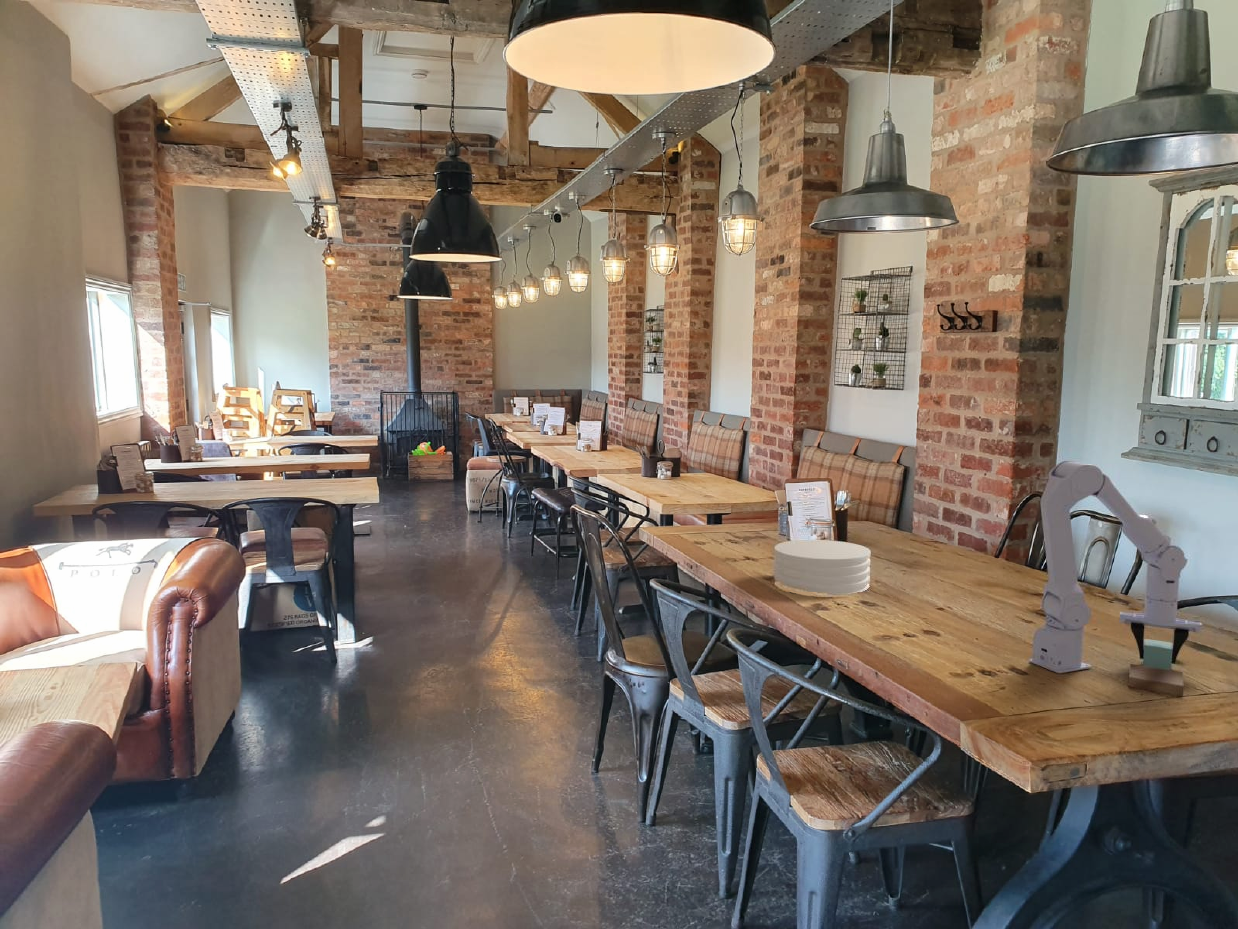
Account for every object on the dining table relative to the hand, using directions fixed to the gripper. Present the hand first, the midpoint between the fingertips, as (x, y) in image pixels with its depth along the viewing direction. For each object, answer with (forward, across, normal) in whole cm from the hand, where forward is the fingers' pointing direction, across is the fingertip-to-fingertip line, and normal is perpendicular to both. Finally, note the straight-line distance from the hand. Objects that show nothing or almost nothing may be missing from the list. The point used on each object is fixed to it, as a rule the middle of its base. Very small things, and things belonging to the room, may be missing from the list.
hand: (1157, 660), depth 174 cm
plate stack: (+2, +84, -28) cm, 89 cm away
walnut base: (+1, 0, +12) cm, 12 cm away
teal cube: (+1, 0, 0) cm, 1 cm away
